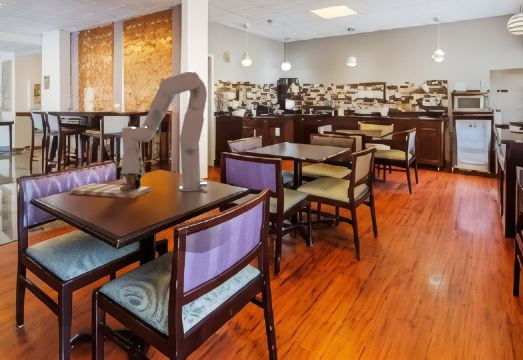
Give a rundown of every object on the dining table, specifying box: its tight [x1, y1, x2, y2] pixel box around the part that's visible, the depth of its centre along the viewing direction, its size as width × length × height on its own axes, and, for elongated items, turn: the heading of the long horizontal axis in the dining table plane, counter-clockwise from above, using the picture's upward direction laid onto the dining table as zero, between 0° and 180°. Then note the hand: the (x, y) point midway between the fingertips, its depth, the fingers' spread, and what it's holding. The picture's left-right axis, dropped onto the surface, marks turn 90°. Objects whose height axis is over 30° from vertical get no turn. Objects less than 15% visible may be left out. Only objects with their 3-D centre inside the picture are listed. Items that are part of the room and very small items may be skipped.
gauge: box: [120, 174, 142, 191], centre depth 192 cm, size 4×13×7 cm, turn 164°
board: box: [70, 182, 152, 199], centre depth 196 cm, size 36×16×2 cm, turn 74°
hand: (133, 186), depth 196 cm, fingers closed on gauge, 4 cm apart
